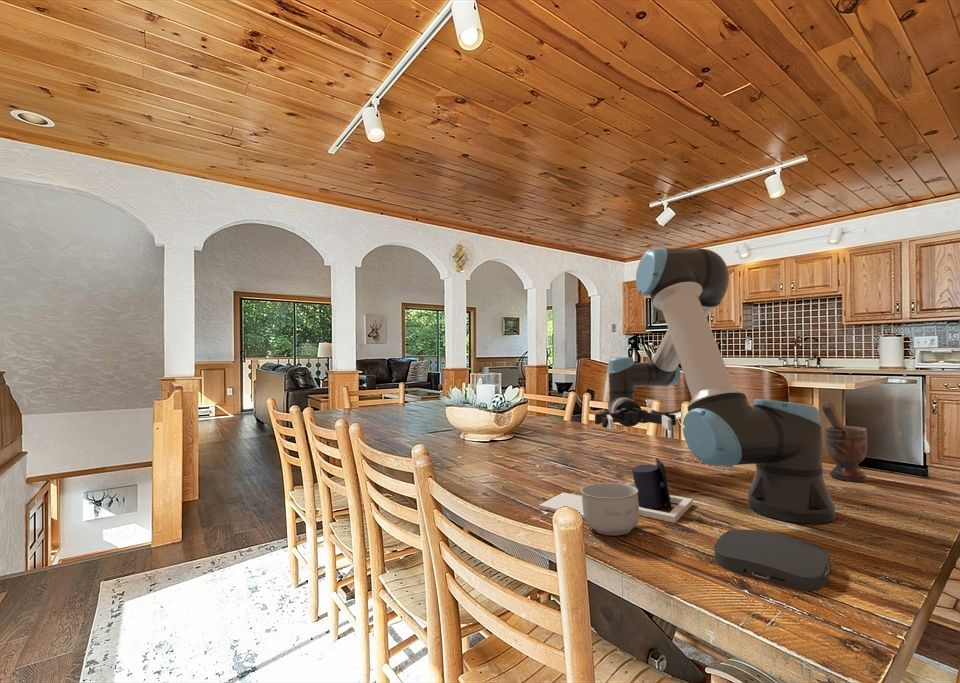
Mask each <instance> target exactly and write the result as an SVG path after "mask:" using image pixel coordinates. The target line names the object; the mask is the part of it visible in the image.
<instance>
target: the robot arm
mask: <svg viewBox="0 0 960 683" xmlns="http://www.w3.org/2000/svg"><path fill="white" fill-rule="evenodd" d="M729 281H730V275H729V269H728V266H727V263H726V261H724V259H723V258H722V256H720V255H719V253H717V252H715V251H712V250H711V249H709V248H675V247H674V248H671V247H661V248H651V249H648V250H646V252H645V253H644V254H642V257H641V259H640V260H639V262H638V265H637V269H636V274H635V284H636V285H635V286H636V290H637V291H638V293H639V294H640V295H642V296H645V297H648V296H649V297H650V299H651V302H652V305H653V307H654V308H655V309H658V310H660V311H662V312H661V313H662V314H663V317H664V321H665V323H666V325H667V329H666V330H667V331H666V332H665V334H664V336H663V338H662V339H661V341H660V344H659V345H658V347H657V349H656V351H655V353H654V355H653V357H652V358H651V361H649V362H635V361H634V358H633V357H630V356H621V357H620V356H614V357H611V358H609V360H608V367H607V368H608V369H607V373H608V374H607V375H608V385H609V386H608V388H609V389H608V402H607V408H608V409H604V411H601V412H598V413H595V414H594V424H595V425H601V424H602V428H607V427H608V429H609V430H610V431H612V430H614V424H615V423H618V424H620V425H621V426H622V427H623V426H624V427H628V428H631V427H635V426H636V425H638V424H648V423H651V424H657V425H661V426H662V427H663V428H664V429H666V430H667V431H672V426H676V424H677V420H676V419H677V418H676V414H674V413H673V414H672V413H670V412H668V411H667V412H661V411H658V410H655V409H651V410H650V412H649V411H648V410H646V409H642V408H641V406H640V405H639V404H638V403H637V402H636V401H635V388H641V387H668V386H675V385H676V384H678V383H679V381H680V379H681V378H680V376H681V370H682V373H683V376H684V379H685V383H686V385H687V388H688V390H689V394H690V396H691V399H690V402H689V403H688V404H687V411H688V412H687V413H686V414H685V416H684V418H683V421H682V424H683V427H682V433H683V437H684V440H685V443H686V446H687V447H688V449H689V450H690V452H691V453H692V454H693V455H694V456H695V458H696V459H698V460H700V461H701V462H702V463H704V464H706V465H707V466H713V467H721V466H722V467H729V468H731V467H733V466H740V465H755V474H754V476H753V479H752V482H751V485H750V487H749V490H748V494H747V505H748V507H749V508H750V509H751V510H752V511H754V512H755V513H757V514H760V515H762V516H765V517H768V518H772V519H776V520H780V521H785V522H790V523H791V522H792V523H800V524H815V525H816V524H818V525H819V524H826V523H827V524H828V523H831V522H833V521H835V520H836V507H835V504H834V500H833V498H832V496H831V494H830V491H829V489H828V486H827V485H826V482H825V479H824V475H823V472H824V471H823V447H822V446H823V444H822V443H823V440H822V438H823V437H822V427H823V424H822V423H821V416H820V415H821V414H820V411H819V409H818V408H817V407H816V406H815V405H812V404H806V403H799V402H790V401H780V400H772V399H764V398H763V399H762V398H754V400H753V402H752V406H751V405H750V403H749V401H748V398H747V395H746V393H745V392H743V391H741V390H739V389H737V388H735V387H734V384H733V381H732V379H731V377H730V374H729V372H728V368H727V366H726V364H725V360H724V359H723V356H722V354H721V351H720V349H719V346H718V343H717V341H716V338H715V335H714V332H713V331H712V328H711V326H710V322H709V321H708V316H709V314H710V313H711V311H712V310H713V308H717V307H719V306H720V304H721V303H722V300H723V299H724V297H725V295H726V293H727V290H728V288H729V284H730V283H729ZM679 365H680V366H679ZM680 367H681V368H680Z"/></svg>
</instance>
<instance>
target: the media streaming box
mask: <svg viewBox="0 0 960 683" xmlns="http://www.w3.org/2000/svg"><path fill="white" fill-rule="evenodd" d="M714 561H715V563H716V564H717V565H718V566H720V567H722V568H724V569H725V570H728V571H731V572H734V573H738V574H741V575H744V576H748V577H751V578H754V579H758V580H762V581H763V582H769V583H772V584H775V585H778V586H782V587H786V588H791V589H794V590H799V591H805V592H806V591H809V592H810V591H811V592H812V591H813V592H814V591H819V590H822V589H823V588H824V587H825V585H826V584H827V581H828V579H829V577H830V573H831V572H830V571H831V566H832V565H831V553H830V552H829V551H828V550H826V549H824V548H822V547H821V546H818V545H817V544H814V543H812V542H809V541H808V540H807V541H806V540H803V539H800V538H797V537H794V536H791V535H790V536H789V535H786V534H781V533H779V532H771V531H767V530H758V529H729V530H727V531H725V532H723V533H722V535H721V536H719V538H718V539H717V541H716V542H715V544H714Z"/></svg>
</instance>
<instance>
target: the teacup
mask: <svg viewBox="0 0 960 683" xmlns="http://www.w3.org/2000/svg"><path fill="white" fill-rule="evenodd" d="M580 494H581V496H582V505H583V513H584V518H585V519H584V520H585V522H586V523H587V525H588V526H589V527H590V528H591V529H593V531H594V532H597V533H598V534H600V535H605V536H615V537H616V536H623V535H626V534H628V533H630V532H631V531H632V530H633V529H634V528H636V526H637V524H638V523H639V519H640V515H639V507H640V506H639V503H638V489H637V488H636V486H635V484H634V483H633V482H627V483H626V482H625V483H619V482H599V483H598V482H597V483H591V484H587V485H584V486H583V487H581V488H580Z"/></svg>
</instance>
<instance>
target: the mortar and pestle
mask: <svg viewBox="0 0 960 683" xmlns="http://www.w3.org/2000/svg"><path fill="white" fill-rule="evenodd" d="M821 410H822V412H823V414H824V416H825V417H826V419H827V420H828V422H829V423H830V425H828V426H827V425H826V426H825V427H824V440H825V446H826V450H827V453H828V455H829V456H830V457H831V458H832V459H833V461H835V463H836V464H835V466H834V467H833V469H832V470H831V471H830V473H829V476H831V477H833V478H834V479H836V480H840V481H844V482H845V481H846V482H854V483H855V482H857V483H858V482H859V483H860V482H866V481H867V475H866V473H865V472H864V471H862V470H861V468H859V464H860V463H861V462H863V461H864V460H865V458H866V455H867V452H868V430H867V427H859V426H852V425H849V426H848V425H843V423H842V421H841V417H840V414H839V411H838V409H837V407H836V405H835V404H834V403H831V402H826V403H824V404H822V406H821Z"/></svg>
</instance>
